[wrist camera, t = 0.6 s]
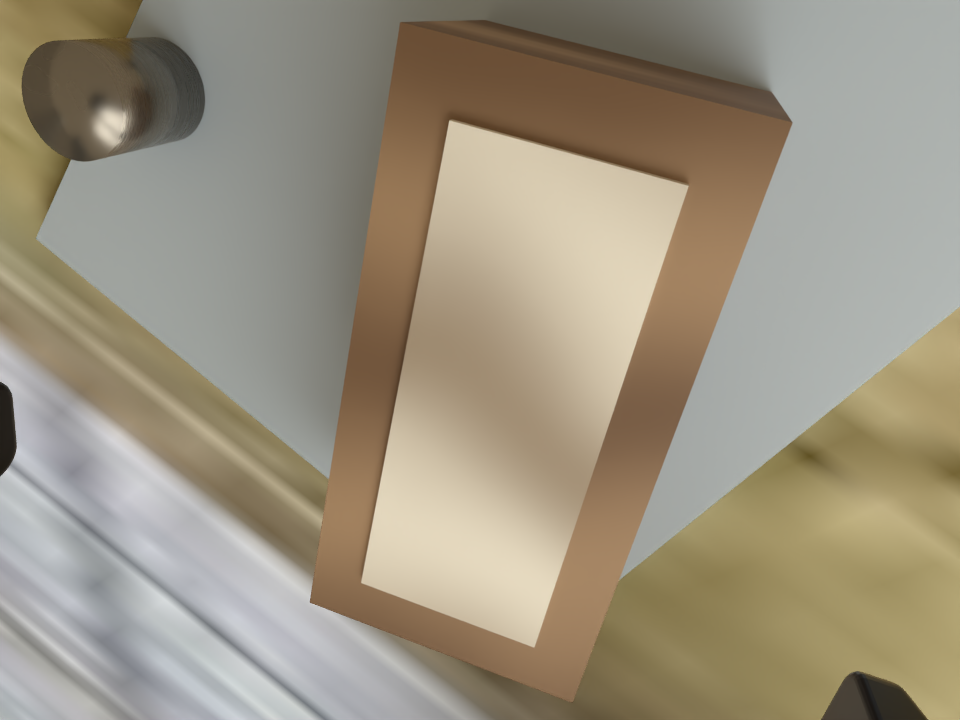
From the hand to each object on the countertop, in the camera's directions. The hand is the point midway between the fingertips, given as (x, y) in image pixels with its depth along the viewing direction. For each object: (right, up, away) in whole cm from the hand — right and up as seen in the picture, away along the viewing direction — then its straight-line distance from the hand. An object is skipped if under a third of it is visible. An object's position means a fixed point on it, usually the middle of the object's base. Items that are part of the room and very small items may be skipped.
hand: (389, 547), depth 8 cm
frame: (+3, +3, +11) cm, 11 cm away
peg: (-7, +8, +11) cm, 15 cm away
